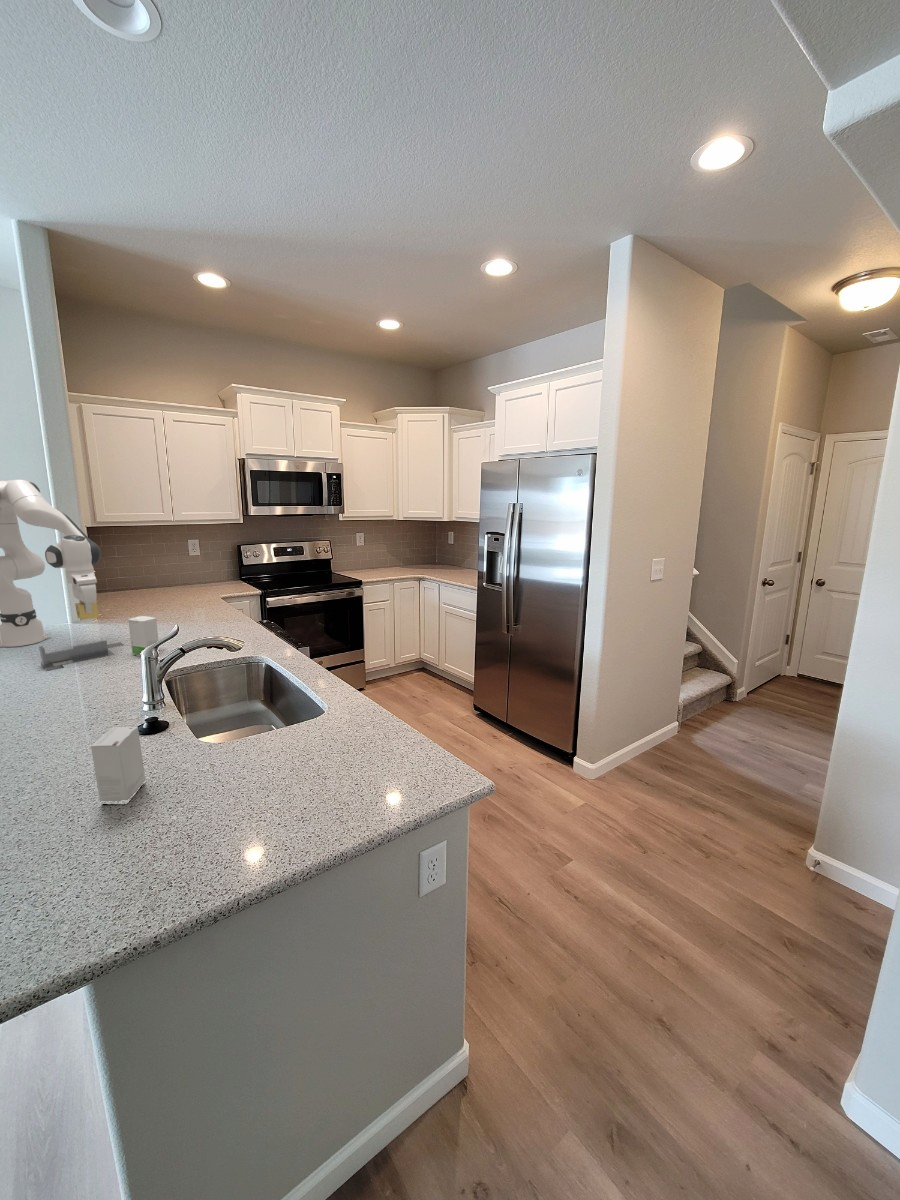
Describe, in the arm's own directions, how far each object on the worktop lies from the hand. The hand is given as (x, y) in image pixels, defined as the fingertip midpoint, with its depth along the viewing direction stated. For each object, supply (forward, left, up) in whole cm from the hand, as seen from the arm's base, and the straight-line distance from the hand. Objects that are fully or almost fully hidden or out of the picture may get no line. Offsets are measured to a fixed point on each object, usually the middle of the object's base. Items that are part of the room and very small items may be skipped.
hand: (87, 611), depth 195 cm
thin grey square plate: (-9, +9, -19) cm, 23 cm away
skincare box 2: (+11, +16, -20) cm, 27 cm away
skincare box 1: (+115, -19, -20) cm, 118 cm away
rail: (0, -5, -19) cm, 20 cm away
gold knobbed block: (0, 0, -3) cm, 3 cm away
